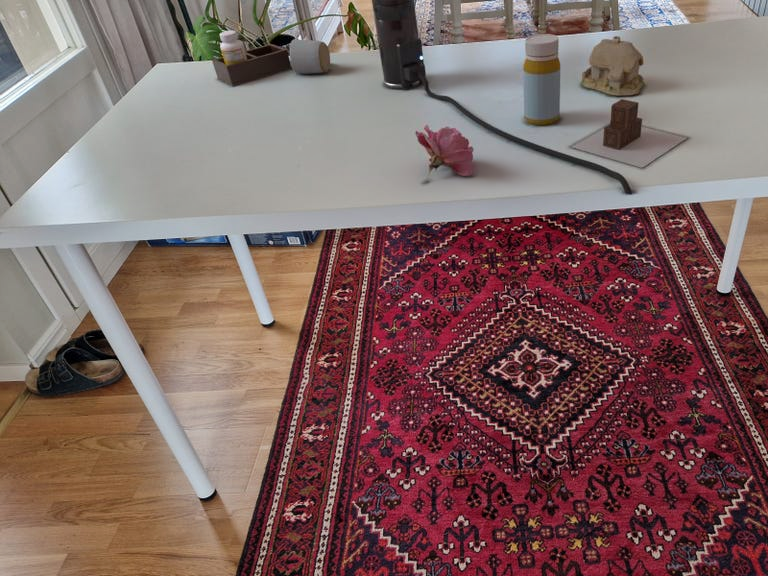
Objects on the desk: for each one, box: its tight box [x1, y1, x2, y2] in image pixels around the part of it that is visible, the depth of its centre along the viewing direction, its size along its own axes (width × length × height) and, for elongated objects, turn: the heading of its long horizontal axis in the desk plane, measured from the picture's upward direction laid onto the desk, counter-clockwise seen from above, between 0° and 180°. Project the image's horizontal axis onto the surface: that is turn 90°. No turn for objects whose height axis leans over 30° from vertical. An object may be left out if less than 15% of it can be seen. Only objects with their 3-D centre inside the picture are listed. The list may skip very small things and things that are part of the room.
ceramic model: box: [581, 35, 645, 97], centre depth 136 cm, size 14×11×10 cm
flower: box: [414, 124, 474, 183], centre depth 111 cm, size 11×10×10 cm
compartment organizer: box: [211, 43, 293, 87], centre depth 161 cm, size 9×16×5 cm, turn 132°
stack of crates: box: [571, 98, 687, 169], centre depth 115 cm, size 15×15×7 cm
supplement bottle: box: [218, 30, 247, 65], centre depth 157 cm, size 5×5×10 cm
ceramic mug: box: [289, 38, 331, 75], centre depth 159 cm, size 11×8×8 cm
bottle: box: [522, 33, 561, 126], centre depth 123 cm, size 7×7×15 cm
